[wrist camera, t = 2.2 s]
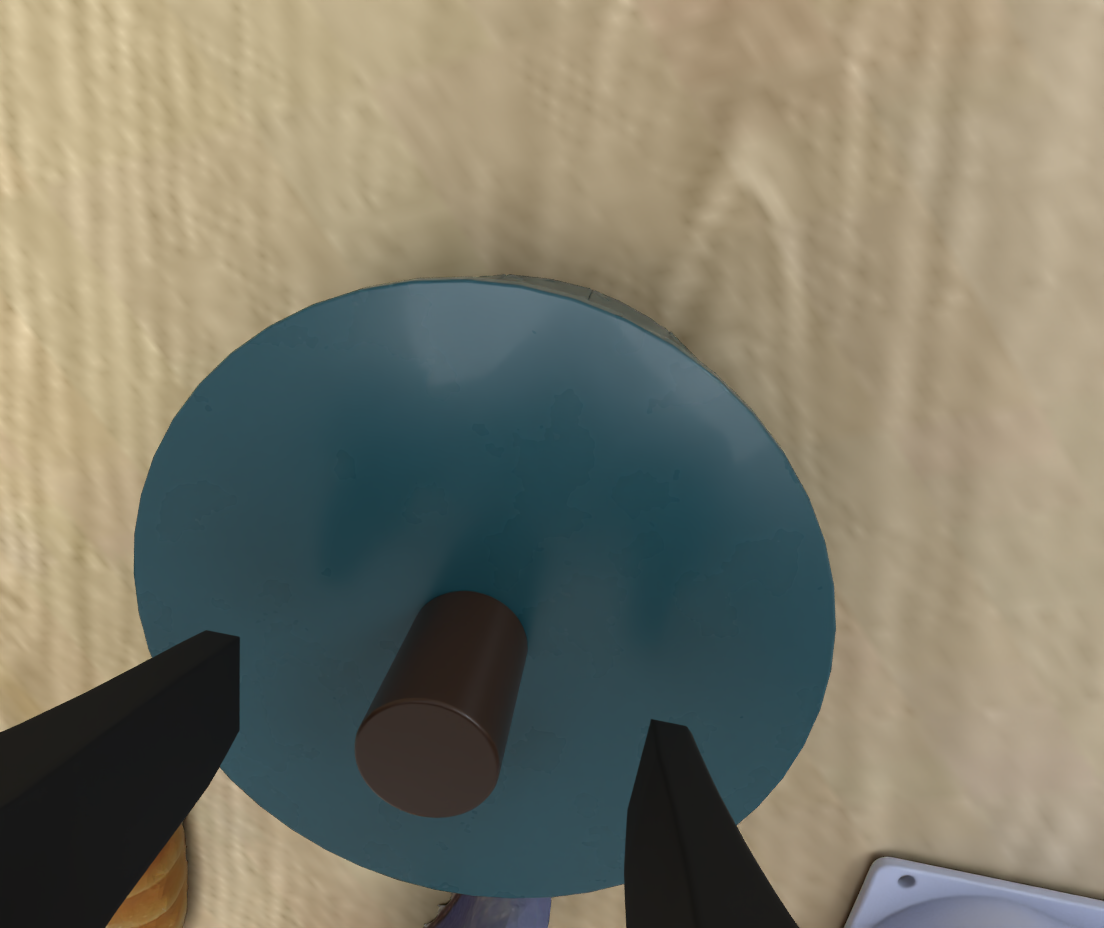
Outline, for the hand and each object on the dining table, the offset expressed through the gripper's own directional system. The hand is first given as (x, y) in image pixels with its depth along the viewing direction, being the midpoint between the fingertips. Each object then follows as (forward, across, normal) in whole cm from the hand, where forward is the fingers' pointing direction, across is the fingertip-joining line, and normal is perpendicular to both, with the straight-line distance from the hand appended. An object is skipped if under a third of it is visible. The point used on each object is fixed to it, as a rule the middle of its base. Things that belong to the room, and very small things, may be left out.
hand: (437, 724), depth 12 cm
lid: (+3, 0, 0) cm, 3 cm away
